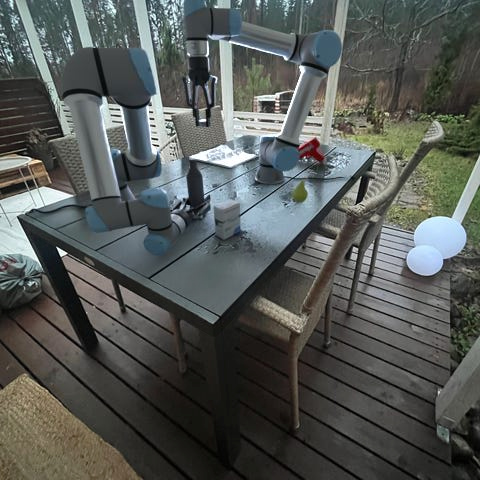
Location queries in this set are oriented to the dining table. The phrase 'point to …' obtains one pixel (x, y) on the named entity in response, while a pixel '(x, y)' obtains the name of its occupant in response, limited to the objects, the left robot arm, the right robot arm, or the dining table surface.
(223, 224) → the ink box
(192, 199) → the bottle
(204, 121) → the cap
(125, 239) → the dining table surface
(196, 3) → the right robot arm
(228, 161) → the relief map
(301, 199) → the fruit
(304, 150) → the toy gun
